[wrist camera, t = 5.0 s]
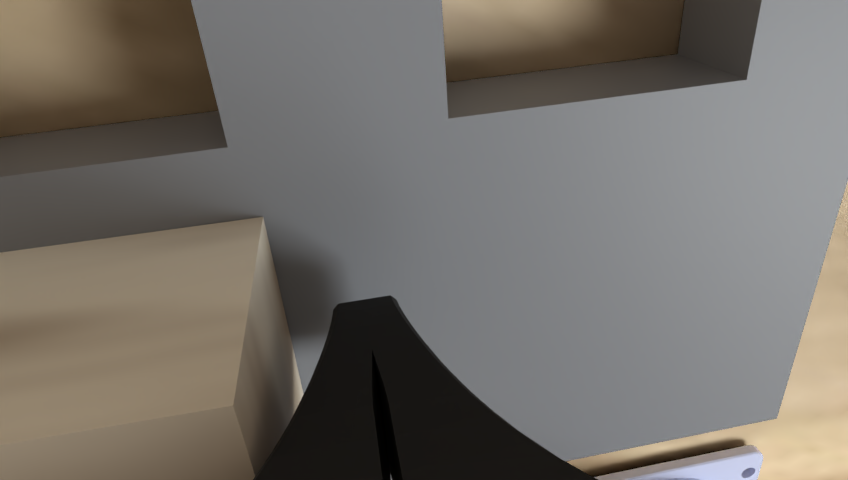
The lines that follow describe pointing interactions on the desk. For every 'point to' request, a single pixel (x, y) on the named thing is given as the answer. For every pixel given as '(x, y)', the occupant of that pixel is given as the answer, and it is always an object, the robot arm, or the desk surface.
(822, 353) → the desk surface
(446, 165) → the trap board
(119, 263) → the maple block
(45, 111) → the desk surface
